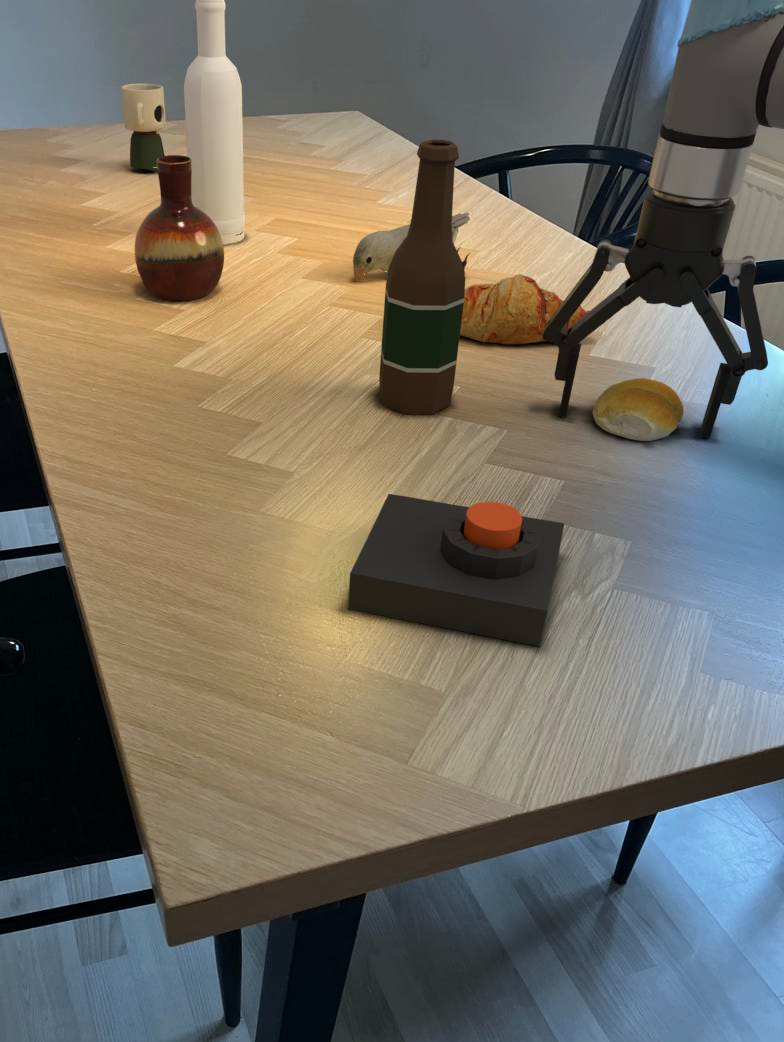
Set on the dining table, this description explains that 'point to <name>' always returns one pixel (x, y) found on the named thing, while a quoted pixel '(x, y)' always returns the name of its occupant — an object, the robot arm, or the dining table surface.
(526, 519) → the push button switch
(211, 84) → the bottle
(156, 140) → the character mug
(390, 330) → the beer bottle
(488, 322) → the croissant
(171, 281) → the vase
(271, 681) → the dining table surface
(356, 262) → the decorative bird
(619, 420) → the bread roll
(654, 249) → the robot arm
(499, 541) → the orange button cap
